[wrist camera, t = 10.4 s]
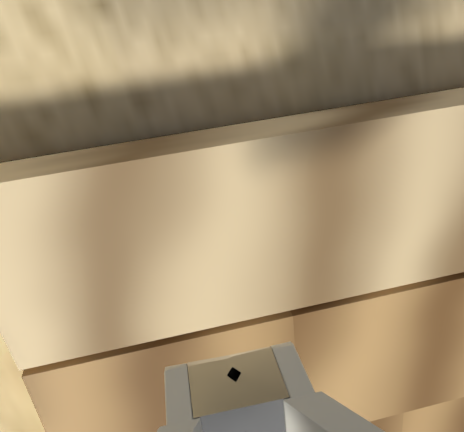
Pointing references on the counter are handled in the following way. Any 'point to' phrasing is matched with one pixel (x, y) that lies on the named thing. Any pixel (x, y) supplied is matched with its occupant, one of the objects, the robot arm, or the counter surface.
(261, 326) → the laid floor
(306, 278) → the plank
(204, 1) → the counter surface
